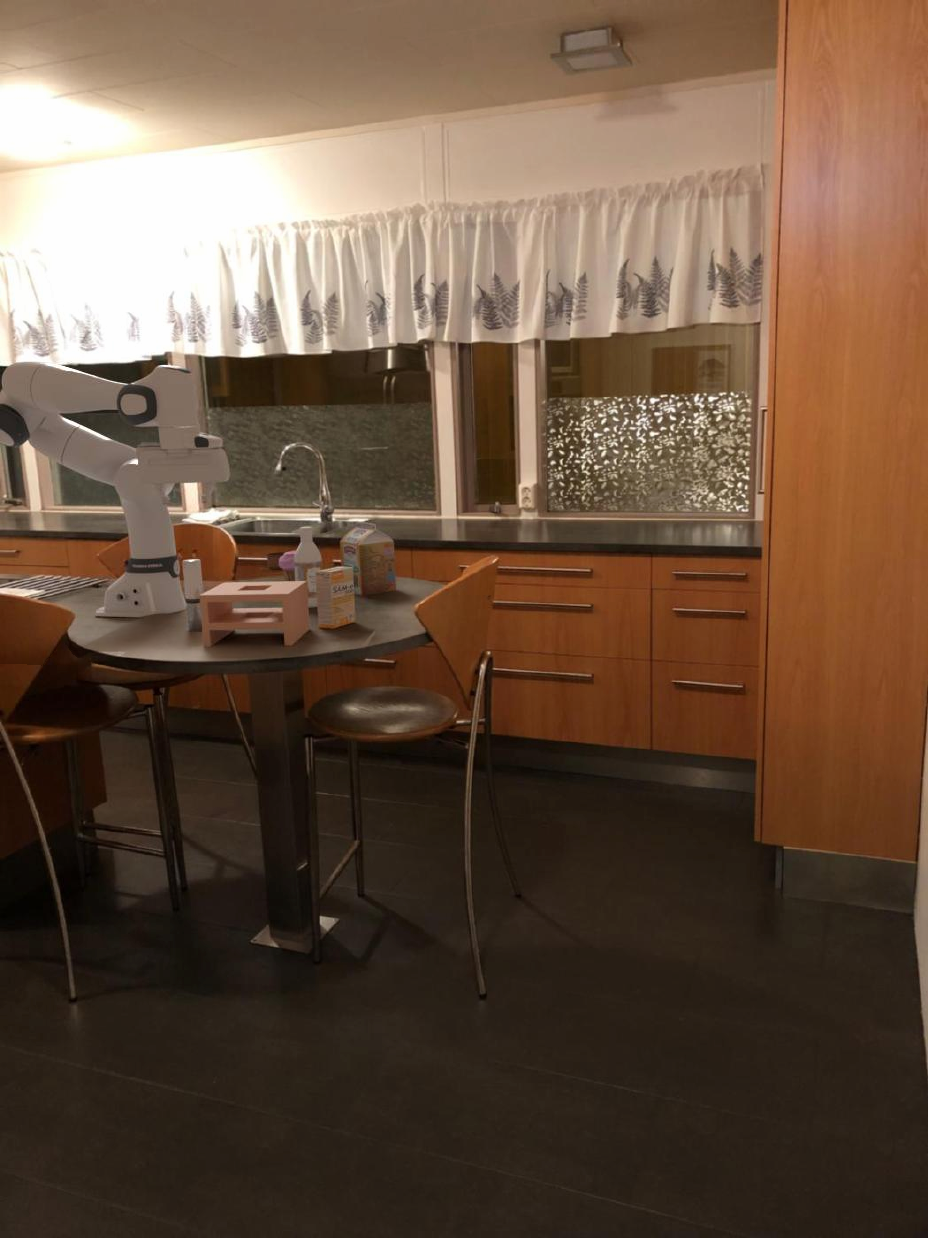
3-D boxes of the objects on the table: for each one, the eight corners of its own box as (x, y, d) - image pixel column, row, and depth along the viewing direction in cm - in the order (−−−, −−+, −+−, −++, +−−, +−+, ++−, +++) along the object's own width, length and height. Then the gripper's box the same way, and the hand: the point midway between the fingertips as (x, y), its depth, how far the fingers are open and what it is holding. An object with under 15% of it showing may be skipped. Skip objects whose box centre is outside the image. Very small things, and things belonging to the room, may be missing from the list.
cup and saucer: (280, 569, 314) (279, 550, 312) (307, 572, 307) (306, 552, 305) (252, 575, 304) (250, 555, 303) (279, 577, 297) (278, 557, 296)
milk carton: (396, 593, 264) (392, 522, 260) (361, 598, 258) (357, 526, 255) (376, 588, 273) (373, 519, 269) (342, 592, 267) (338, 523, 263)
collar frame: (203, 646, 208) (199, 595, 206) (228, 630, 224) (224, 582, 222) (291, 645, 207) (288, 593, 204) (309, 628, 222) (306, 580, 220)
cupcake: (276, 587, 279) (273, 552, 277) (286, 582, 287) (284, 548, 285) (306, 587, 277) (304, 552, 275) (315, 582, 286) (313, 548, 284)
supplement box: (334, 629, 221) (330, 571, 218) (317, 627, 223) (314, 570, 221) (357, 622, 228) (353, 566, 225) (340, 620, 230) (337, 565, 228)
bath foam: (304, 609, 245) (298, 529, 241) (292, 605, 251) (287, 527, 247) (329, 605, 249) (324, 527, 245) (317, 602, 255) (312, 524, 251)
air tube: (185, 631, 224) (178, 562, 220) (191, 627, 228) (185, 559, 224) (203, 631, 223) (197, 561, 220) (209, 627, 227) (203, 559, 224)
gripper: (129, 442, 215) (135, 506, 218) (220, 439, 213) (225, 503, 216) (140, 441, 221) (146, 503, 224) (229, 438, 219) (234, 501, 222)
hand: (186, 503), depth 220 cm, fingers open, 8 cm apart
